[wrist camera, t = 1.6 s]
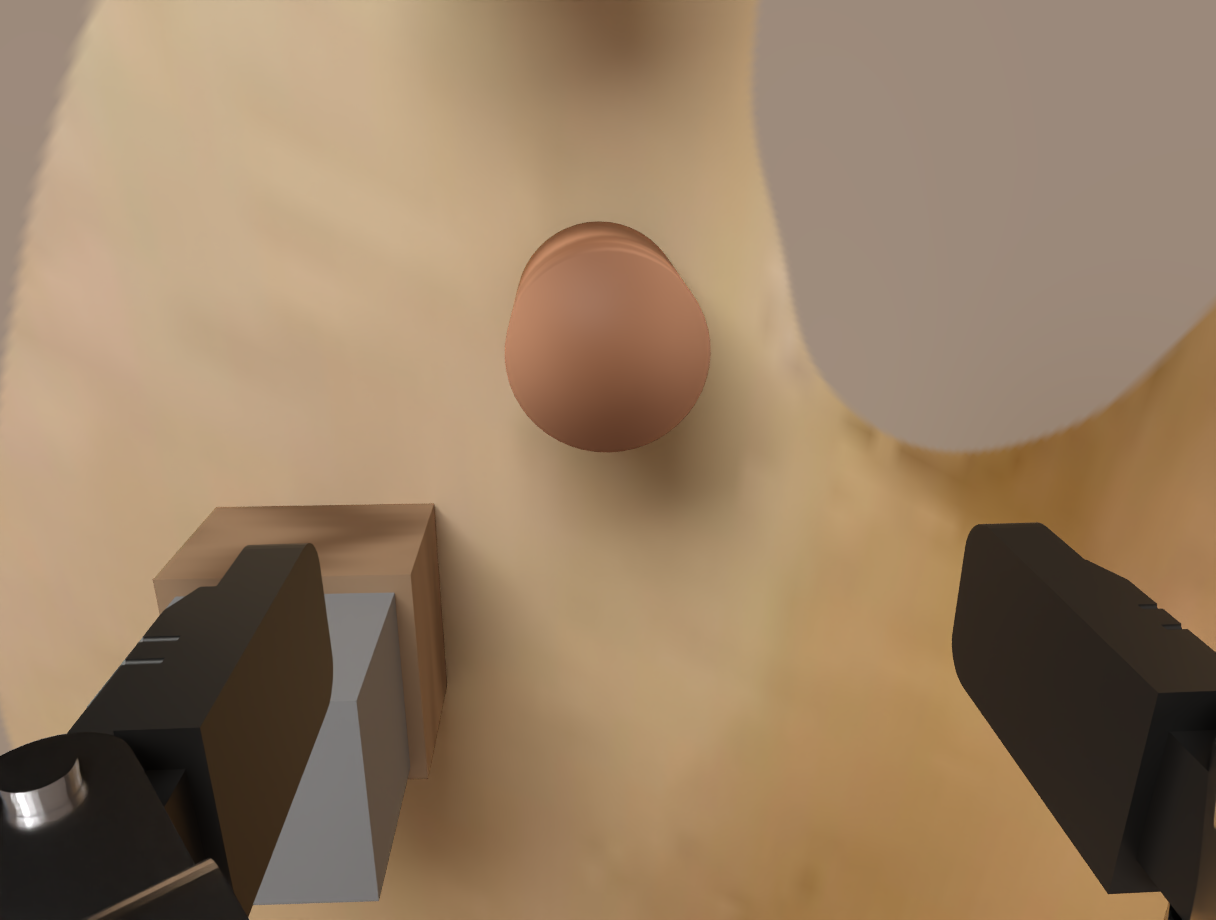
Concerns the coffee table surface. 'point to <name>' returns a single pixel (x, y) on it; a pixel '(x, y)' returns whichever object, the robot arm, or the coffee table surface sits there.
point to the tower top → (348, 766)
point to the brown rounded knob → (605, 340)
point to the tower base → (345, 582)
